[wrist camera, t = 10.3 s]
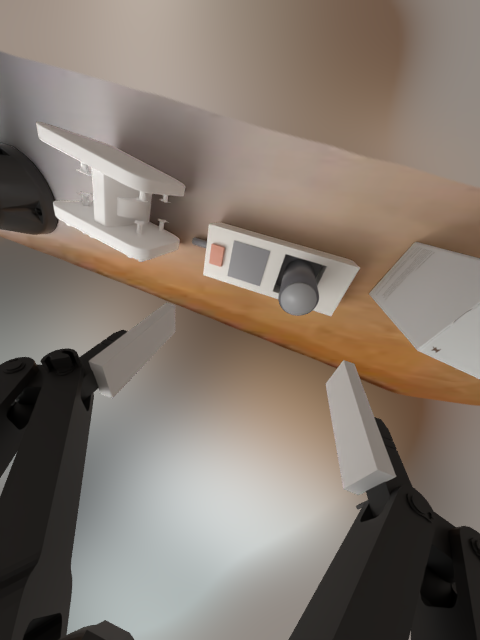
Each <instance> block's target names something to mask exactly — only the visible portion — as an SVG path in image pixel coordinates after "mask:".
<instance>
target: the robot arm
mask: <svg viewBox="0 0 480 640" xmlns="http://www.w3.org/2000/svg"><path fill="white" fill-rule="evenodd" d="M53 202H54V198H53V195H52V193H51V191H50V189H49V187H48V185H47V183H46V181H45V179H44V178H43V176H42V175H41V173H40V172H39V171H38V169H37V168H36V167H35V165H34V164H33V163H32V162H31V161H30V160H29V159H28V158H27V157H26V156H25V155H24V154H23V153H21V152H20V151H19V150H17V149H16V148H14V147H12V146H10V145H7V144H3V143H0V229H2V230H8V231H14V232H20V233H26V234H33V235H38V234H48V233H51V232H52V231H53V230H54V229H55V227H56V225H57V217H56V216H55V212H54V206H53ZM174 333H175V305H172V304H169V303H165V304H164V305H163V306H161V307H160V308H159V309H157V310H156V311H155V312H153V313H152V314H151V315H149V316H148V317H147V318H145V319H144V320H143V321H141V322H140V323H139V324H137V325H136V326H135V327H133V328H132V329H131V330H129V331H125V330H121V331H118V332H116V333H113V334H112V335H111V336H109V337H108V338H107V339H105V340H103V341H102V342H101V343H100V344H98V345H96V346H95V347H94V348H92V349H91V350H89V351H88V352H86V353H85V354H84V355H82V356H81V357H79V356H78V354H77V352H76V351H75V350H72V349H60V350H55V351H53V352H51V353H49V354H47V355H46V356H44V357H43V358H42V360H41V363H42V365H37V364H36V363H35V361H34V360H33V359H31V358H29V357H20V358H15V359H11V360H9V361H6V362H4V363H3V364H1V365H0V477H1V476H2V474H3V473H4V471H5V470H6V468H7V467H8V465H9V463H10V462H11V460H12V459H13V457H14V456H15V454H16V453H17V454H16V457H15V459H14V462H13V465H12V467H11V470H10V472H9V475H8V478H7V480H6V483H5V486H4V488H3V491H2V494H1V496H0V640H134V639H133V637H132V636H131V634H130V633H129V632H127V631H125V630H123V629H121V628H119V627H117V626H115V625H113V624H112V623H109V622H108V621H106V620H105V621H103V622H101V623H99V624H97V625H91V626H87V627H83V628H81V629H79V630H77V631H74V632H72V633H70V634H68V635H66V633H67V626H68V618H69V609H70V602H71V593H72V574H71V557H72V550H73V543H74V536H75V529H76V521H77V514H78V507H79V500H80V493H81V485H82V478H83V471H84V464H85V456H86V449H87V442H88V435H89V427H90V421H91V414H92V406H93V399H94V394H93V392H94V391H96V390H97V389H98V388H99V391H100V393H101V394H102V395H105V396H107V397H110V398H113V397H114V396H115V395H116V394H117V393H118V392H119V391H120V390H121V389H122V388H123V387H124V386H125V385H126V384H127V383H128V382H129V381H130V379H131V378H132V377H133V376H134V375H135V374H136V373H137V372H138V371H139V370H140V369H141V368H142V367H143V366H144V365H145V364H146V363H147V361H149V359H150V358H151V357H152V356H153V355H154V354H155V353H156V352H157V351H158V350H159V349H160V348H161V347H162V346H163V345H164V343H166V342H167V341H168V339H169V338H170V337H171V336H172V335H173V334H174ZM326 389H327V394H328V401H329V407H330V412H331V418H332V424H333V430H334V436H335V442H336V448H337V454H338V460H339V466H340V471H341V477H342V483H343V489H344V490H347V491H350V492H352V493H355V494H357V495H360V494H362V493H364V492H366V493H367V496H368V500H367V501H365V502H363V503H361V504H359V505H357V506H356V507H357V509H360V508H362V509H361V510H360V512H359V514H358V516H357V518H356V519H355V521H354V523H353V525H352V527H351V528H350V530H349V532H348V534H347V536H346V538H345V539H344V541H343V543H342V545H341V546H340V549H339V550H338V552H337V554H336V555H335V557H334V559H333V561H332V563H331V564H330V566H329V568H328V570H327V572H326V574H325V575H324V577H323V579H322V581H321V582H320V584H319V586H318V588H317V590H316V592H315V593H314V595H313V597H312V599H311V600H310V602H309V604H308V606H307V608H306V609H305V611H304V613H303V615H302V617H301V618H300V620H299V622H298V624H297V626H296V627H295V629H294V631H293V633H292V635H291V636H290V638H289V640H408V639H409V635H410V631H411V640H480V534H479V533H478V532H477V531H475V530H474V529H472V528H470V527H466V526H461V527H455V526H453V525H452V524H450V523H449V522H448V521H446V520H445V519H443V518H442V517H441V516H439V515H438V514H436V513H435V512H433V510H432V508H431V506H430V505H429V503H428V502H427V500H426V499H425V498H424V497H423V496H422V495H421V494H420V493H419V492H418V491H417V490H415V489H414V488H413V487H412V485H411V483H410V480H409V478H408V475H407V473H406V471H405V468H404V466H403V463H402V461H401V459H400V456H399V454H398V451H396V447H395V444H394V442H393V439H392V437H391V435H390V432H389V430H388V428H387V427H386V426H385V424H384V423H383V422H382V420H381V419H378V418H375V417H374V415H373V413H372V410H371V408H370V405H369V402H368V399H367V397H366V394H365V392H364V389H363V386H362V383H361V381H360V378H359V375H358V372H357V370H356V367H355V364H353V363H350V362H347V361H344V360H343V362H342V363H341V364H340V366H339V367H338V368H337V370H336V371H335V372H334V373H333V375H332V376H331V377H330V379H329V380H328V381H327V383H326Z"/></svg>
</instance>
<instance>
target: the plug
mask: <svg viewBox="0 0 480 640" xmlns="http://www.w3.org/2000/svg"><path fill="white" fill-rule="evenodd" d="M278 300H279V304H280V306H281V308H282V309H283V310H284V311H285V312H287V313H289V314H291V315H297V316H299V315H305V314H308V313H309V312H311V311H312V310H313V309H314V308H315V307H316V306H317V304H318V301H319V292H318V288H317V283H316V279H315V275H314V270H313V267H312V265H311V264H310V263H309V262H308V261H306V260H302V259H298V260H294V261H292V262H290V263H289V264H288V265H287V266H286V268H285V271H284V275H283V279H282V283H281V288H280V292H279V297H278Z"/></svg>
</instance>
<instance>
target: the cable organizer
mask: <svg viewBox="0 0 480 640" xmlns="http://www.w3.org/2000/svg"><path fill="white" fill-rule="evenodd" d="M36 126H37V131H38V137H39V139H40V140H41V141H43V142H44V143H46V144H48V145H50V146H52V147H54V148H55V149H57V150H59V151H61V152H63V153H65V154H67V155H69V156H71V157H73V158H74V159H76V160H78V161H80V165H81V169H80V168H79V169H80V170H77V171H79V172H81V173H83V174H85V175H88V176H92V186H93V196H92V194H89V193H84V192H81V193H78V194H81V198H82V201H62V200H57V201H54V202H53V206H54V212H55V216H56V217H57V218H58V219H60V220H61V221H63V222H65V223H66V225H68V226H70V227H72V226H73V227H74V228H76V229H78V230H80V231H82V232H83V234H88V235H89V237H91V238H95V239H97V240H99V241H101V242H103V244H107V245H109V246H110V247H112V248H114V249H115V250H118V251H120V252H122V253H124V254H126V255H127V257H129V258H134V259H136V260H137V259H139V260H138V261H140V262H143V261H146V260H150V259H153V258H155V257H158V256H161V255H164V254H167V253H170V252H173V251H176V250H178V247H179V243H180V239H179V238H178V237H177V236H175V235H174V234H172V233H170V232H168V231H166V230H164V222H167V221H165V220H162V219H159V218H158V219H159V220H157V221H160V223H159V226H157V225H155V224H153V223H151V222H149V220H150V210H151V200H152V194H161V195H163V199H161V200H160V201H163V202H165V203H167V202H168V195H172V196H184V192H185V185H184V184H183V183H181V182H180V181H178V180H176V179H175V178H173V177H171V176H169V175H167V174H165V173H163V172H161V171H159V170H157V169H156V168H154V167H152V166H150V165H148V164H146V163H144V162H142V161H140V160H138V159H137V158H135V157H133V156H131V155H129V154H127V153H125V152H123V151H121V150H119V149H117V148H115V147H113V146H111V145H108V144H106V143H103V142H100V141H97V140H94V139H91V138H88V137H85V136H82V135H79V134H76V133H73V132H70V131H67V130H64V129H61V128H58V127H55V126H52V125H49V124H46V123H42V122H36ZM88 166H90V167H92V172H89V171H88ZM88 196H92V197H93V201H89V200H88ZM168 203H170V202H168Z"/></svg>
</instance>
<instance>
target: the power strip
mask: <svg viewBox="0 0 480 640" xmlns="http://www.w3.org/2000/svg"><path fill="white" fill-rule="evenodd" d="M192 244H193V245H197V246H200V247H203V248H206V256H205V265H204V274H203V275H205V276H208V277H211V278H214V279H217V280H220V281H223V282H227V283H230V284H233V285H236V286H239V287H242V288H245V289H248V290H251V291H254V292H257V293H261V294H264V295H267V296H270V297H273V298H276V299H278V297H279V292H280V288H281V283H282V279H283V275H284V271H285V268H286V266H287V265H288V264H289V263H290V262H292V261H294V260H298V259H302V260H306V261H308V262H309V263H310V264H311V265H312V267H313V270H314V275H315V279H316V283H317V288H318V292H319V301H318V304H317V306H316V307H315V308H314V309H313V311H316V312H319V313H322V314H325V315H329V316H332V314H333V312H334V311H335V309H336V307H337V306H338V304H339V302H340V301H341V299H342V297H343V296H344V294H345V292H346V290H347V289H348V287H349V285H350V284H351V282H352V280H353V279H354V277H355V275H356V274H357V272H358V270H359V269H360V267H359V266H358V265H357V264H356V263H355V262H354V261H353V260H350V259H347V258H343V257H340V256H336V255H333V254H329V253H326V252H322V251H319V250H316V249H312V248H309V247H305V246H302V245H298V244H295V243H291V242H288V241H284V240H281V239H277V238H274V237H270V236H267V235H263V234H260V233H256V232H253V231H250V230H246V229H243V228H239V227H236V226H232V225H229V224H225V223H222V222H217V223H211V224H209V229H208V238H207V241H205V240H202V239H198V238H195V237H194V238H193V240H192Z"/></svg>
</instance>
